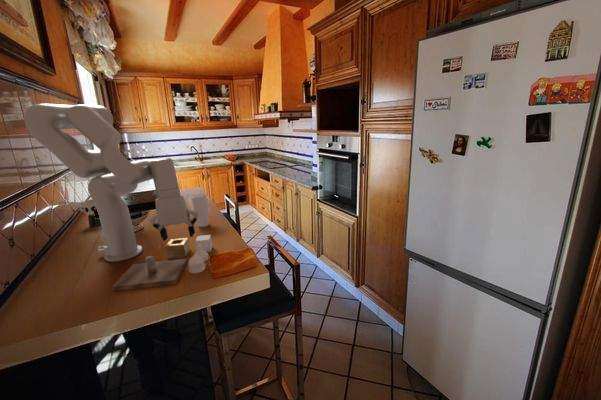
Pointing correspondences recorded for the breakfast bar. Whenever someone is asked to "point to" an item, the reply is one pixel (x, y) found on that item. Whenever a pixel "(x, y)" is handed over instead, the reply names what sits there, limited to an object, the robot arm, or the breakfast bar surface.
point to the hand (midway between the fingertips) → (179, 237)
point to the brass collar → (177, 248)
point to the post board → (151, 274)
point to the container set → (200, 254)
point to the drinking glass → (201, 209)
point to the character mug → (90, 212)
